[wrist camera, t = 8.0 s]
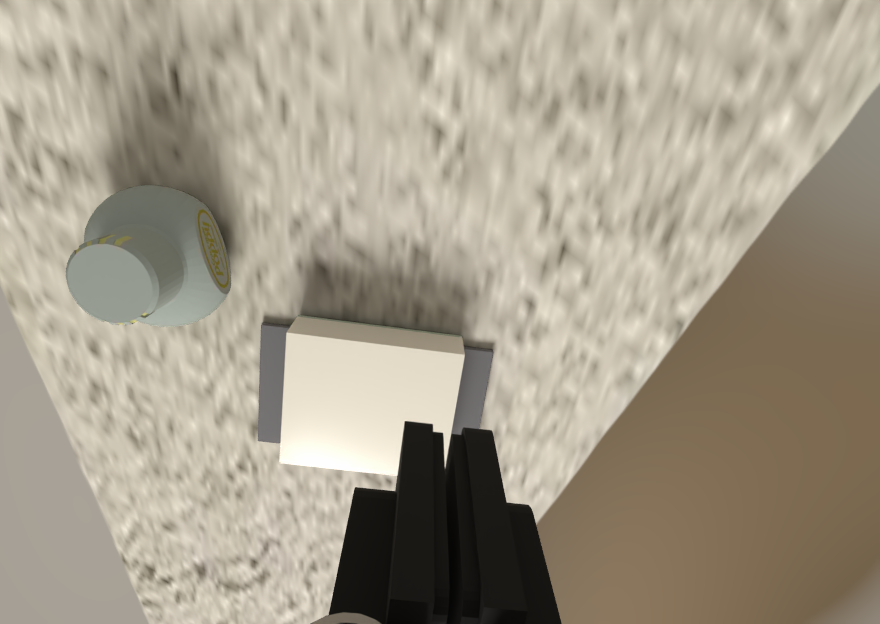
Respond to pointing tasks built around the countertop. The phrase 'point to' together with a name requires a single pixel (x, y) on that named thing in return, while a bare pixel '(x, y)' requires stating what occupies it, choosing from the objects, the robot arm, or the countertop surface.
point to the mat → (273, 383)
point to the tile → (364, 392)
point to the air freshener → (150, 260)
